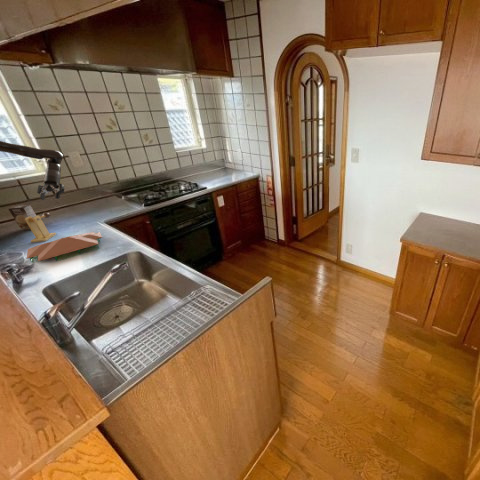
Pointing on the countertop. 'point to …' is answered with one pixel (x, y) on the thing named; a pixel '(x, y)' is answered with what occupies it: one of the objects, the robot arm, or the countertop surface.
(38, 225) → the flush bracket
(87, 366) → the countertop surface
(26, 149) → the robot arm
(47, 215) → the flush lever
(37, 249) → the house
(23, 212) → the coffee box
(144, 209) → the countertop surface
